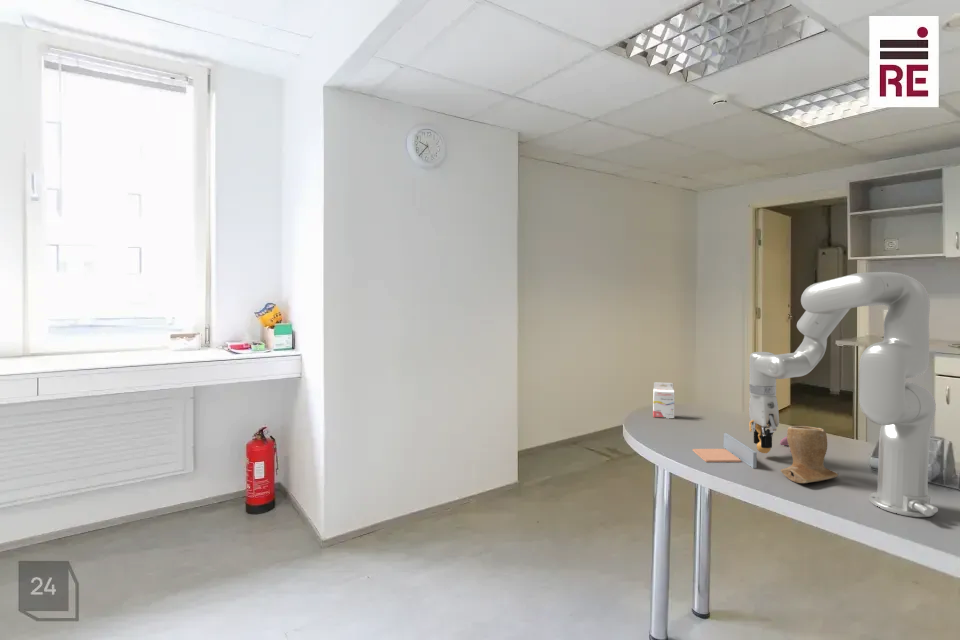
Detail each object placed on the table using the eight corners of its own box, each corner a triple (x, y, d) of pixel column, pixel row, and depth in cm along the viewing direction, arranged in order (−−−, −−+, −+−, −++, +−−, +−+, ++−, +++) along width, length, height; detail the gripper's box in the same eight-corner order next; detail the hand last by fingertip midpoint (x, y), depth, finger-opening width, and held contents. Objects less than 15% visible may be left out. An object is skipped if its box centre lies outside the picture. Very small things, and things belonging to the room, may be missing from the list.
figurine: (757, 456, 156) (758, 419, 155) (743, 450, 162) (744, 415, 161) (779, 453, 158) (779, 417, 157) (764, 447, 163) (764, 412, 163)
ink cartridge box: (653, 417, 209) (653, 384, 208) (652, 414, 213) (652, 381, 212) (674, 419, 206) (674, 384, 205) (673, 416, 211) (673, 382, 210)
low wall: (756, 468, 150) (756, 452, 149) (753, 468, 150) (753, 452, 149) (726, 447, 170) (726, 433, 169) (723, 447, 170) (723, 433, 169)
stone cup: (805, 466, 150) (806, 419, 149) (844, 481, 139) (846, 430, 138) (768, 473, 146) (769, 424, 145) (805, 489, 134) (807, 436, 133)
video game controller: (803, 459, 161) (814, 441, 160) (789, 452, 162) (800, 434, 161) (790, 449, 171) (800, 432, 170) (777, 443, 171) (788, 426, 170)
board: (741, 462, 155) (741, 460, 155) (706, 462, 156) (706, 460, 156) (725, 450, 166) (725, 448, 166) (692, 450, 167) (692, 448, 167)
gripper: (789, 395, 149) (789, 453, 150) (760, 385, 166) (760, 438, 167) (764, 395, 150) (764, 453, 150) (738, 385, 166) (738, 438, 167)
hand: (762, 444), depth 159 cm, fingers closed on figurine, 3 cm apart
